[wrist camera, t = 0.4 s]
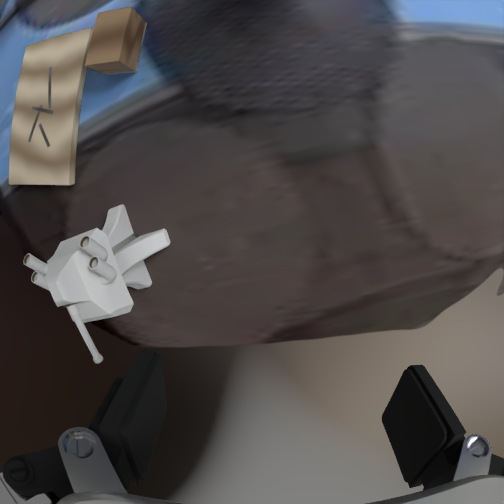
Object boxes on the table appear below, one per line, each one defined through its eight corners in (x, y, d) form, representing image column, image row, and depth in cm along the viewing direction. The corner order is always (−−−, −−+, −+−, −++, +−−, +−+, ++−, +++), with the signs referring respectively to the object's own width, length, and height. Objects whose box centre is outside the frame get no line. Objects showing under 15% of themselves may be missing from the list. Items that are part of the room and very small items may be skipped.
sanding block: (116, 27, 30) (98, 12, 24) (147, 23, 30) (132, 6, 25) (105, 75, 33) (84, 65, 27) (137, 72, 33) (118, 60, 27)
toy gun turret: (116, 300, 43) (56, 370, 25) (85, 218, 39) (1, 257, 22) (185, 284, 41) (143, 363, 24) (154, 192, 38) (81, 220, 20)
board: (31, 47, 30) (26, 45, 28) (96, 30, 30) (91, 27, 28) (14, 183, 37) (8, 184, 35) (74, 184, 37) (68, 185, 36)
